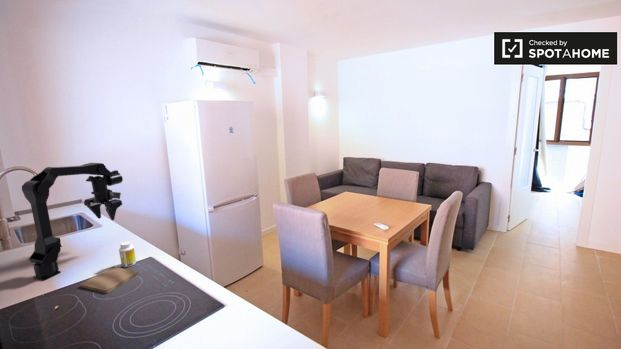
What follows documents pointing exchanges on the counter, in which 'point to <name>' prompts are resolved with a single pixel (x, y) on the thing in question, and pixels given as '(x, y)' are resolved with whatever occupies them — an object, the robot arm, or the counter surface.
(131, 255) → the supplement bottle
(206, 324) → the counter surface
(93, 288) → the board
